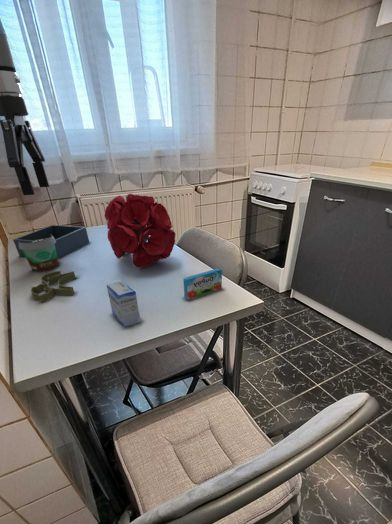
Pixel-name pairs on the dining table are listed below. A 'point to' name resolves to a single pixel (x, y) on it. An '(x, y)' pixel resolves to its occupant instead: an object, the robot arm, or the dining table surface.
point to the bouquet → (139, 229)
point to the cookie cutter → (52, 279)
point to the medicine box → (123, 303)
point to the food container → (41, 254)
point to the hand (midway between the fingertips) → (37, 190)
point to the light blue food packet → (202, 284)
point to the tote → (57, 238)
